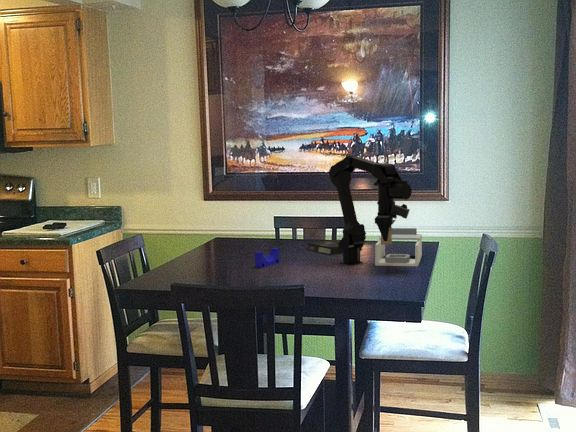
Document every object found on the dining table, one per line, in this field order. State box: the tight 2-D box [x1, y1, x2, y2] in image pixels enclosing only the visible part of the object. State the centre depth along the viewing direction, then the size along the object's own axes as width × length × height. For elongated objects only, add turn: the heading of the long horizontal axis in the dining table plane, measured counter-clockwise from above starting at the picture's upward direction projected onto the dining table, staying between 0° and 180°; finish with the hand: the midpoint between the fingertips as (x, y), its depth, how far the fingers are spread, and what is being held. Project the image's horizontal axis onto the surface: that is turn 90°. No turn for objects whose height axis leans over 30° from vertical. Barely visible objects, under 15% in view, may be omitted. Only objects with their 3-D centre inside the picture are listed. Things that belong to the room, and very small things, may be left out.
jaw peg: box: [380, 225, 393, 246], centre depth 261 cm, size 4×4×6 cm
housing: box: [374, 236, 423, 267], centre depth 279 cm, size 24×16×8 cm, turn 166°
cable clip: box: [254, 247, 280, 269], centre depth 278 cm, size 12×4×6 cm, turn 145°
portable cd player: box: [307, 239, 363, 256], centre depth 306 cm, size 16×17×4 cm
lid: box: [378, 227, 423, 241], centre depth 284 cm, size 11×16×3 cm
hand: (386, 240), depth 261 cm, fingers closed on jaw peg, 4 cm apart
